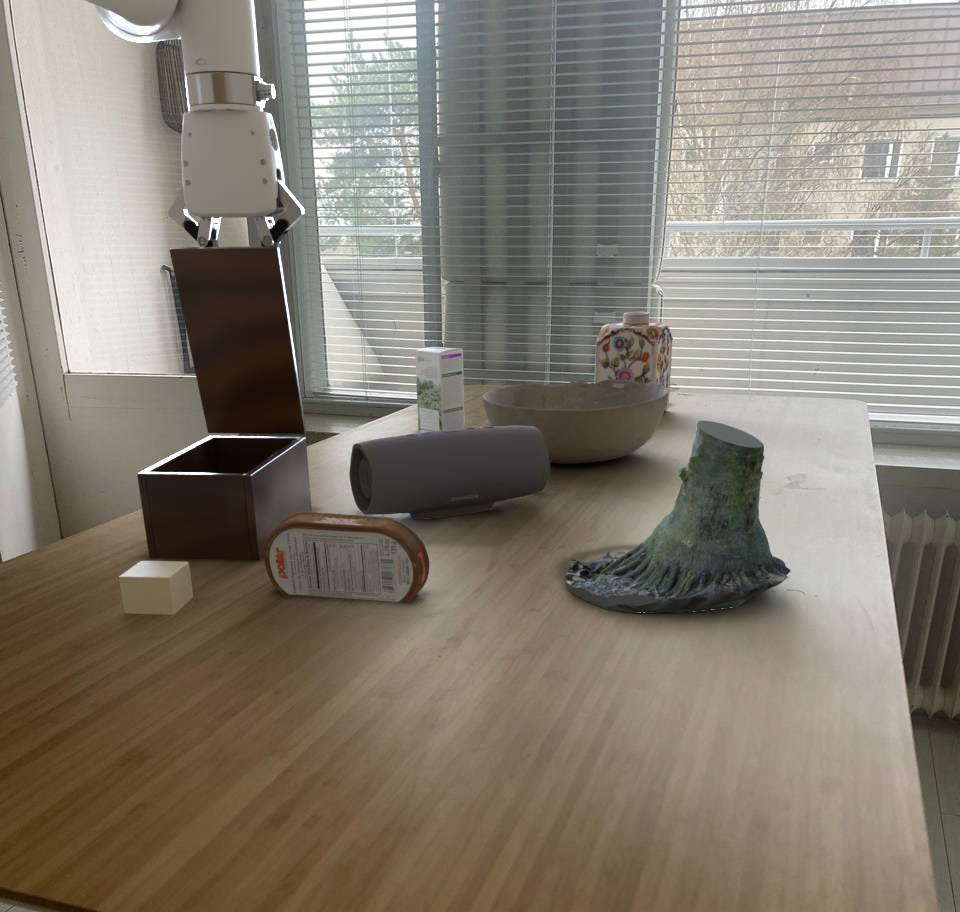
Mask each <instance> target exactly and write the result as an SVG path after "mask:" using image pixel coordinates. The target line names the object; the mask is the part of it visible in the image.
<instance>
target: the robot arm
mask: <svg viewBox="0 0 960 912" xmlns="http://www.w3.org/2000/svg"><path fill="white" fill-rule="evenodd" d="M84 1H85V2H87V3H90V4H92V5H94V6H95V9H96V12H97V14H98V16H99V17H100V19H101V21H102V22H103V23H104V25H105V26H106V27H107V28H108V29H109V30H110V31H111V32H112V33H114V34H115V35H117V36H118V37H120V38H122V39H123V40H126V41H130V42H134V43H153V42H161V41H170V40H180V43H181V53H182V62H183V70H184V71H183V72H184V82H185V88H186V98H187V108H188V111H187V112H183V114H182V125H181V142H180V143H181V144H180V145H181V147H180V148H181V149H180V155H181V157H180V159H181V160H180V161H181V162H180V163H181V179H182V180H181V181H182V186H181V189H180V190H179V192H178V194H177V196H176V197H175V199H174V201H173V202H172V204H171V206H170V208H169V209H168V211H167V212H168V213H167V214H168V216H169V217H170V219H172V220H173V221H174V222H176V223H177V224H178V225H179V226H180V227H182V228H183V229H184V230H185V231H186V232H187V233H188V234H189V235H190V236H191V238H193V239H194V241H196V242H197V245H198V247H219V241H218V240H219V239H218V238H219V233H220V226H221V220H222V219H227V218H228V219H230V218H231V219H232V218H237V219H238V218H244V219H245V218H253V221H254V223H255V226H256V230H257V232H258V234H259V237H260V245H261V246H280V244H281V242H282V240H283V239H284V238H285V236H287V234H288V233H289V231H290V230H291V229H292V227H293V226H295V225H296V224H297V223H298V222H299V221H300V220H301V218H303V216H304V215H305V213H306V211H305V208H304V206H303V205H301V203H300V202H299V201H298V200H297V198H296V197H295V196H294V194H293V193H292V192H291V191H290V189H288V187H287V186H286V179H285V172H284V166H283V160H282V154H281V149H280V144H279V138H278V134H277V129H276V125H275V122H274V118H273V115H272V113H270V112H267V111H264V108H265V107H266V105H265V104H266V101H268V100H274V99H275V98H276V89H275V85H274V84H273V83H266V82H264V81H263V78H261V68H260V59H259V46H258V36H257V24H256V23H257V22H256V12H255V0H84ZM190 214H191V215H193V216H195V217H198V218H200V219H199V221H197V220H195V219H194V218H193V217H192V216H191V215H190ZM281 215H282V216H281ZM278 216H281V217H280V218H279V219H278V220H276V222H275V220H274V217H278Z"/></svg>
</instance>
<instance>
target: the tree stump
mask: <svg viewBox="0 0 960 912" xmlns="http://www.w3.org/2000/svg"><path fill="white" fill-rule="evenodd" d="M696 424H697V425H696V430H695V437H694V440H693V442H692V446H691V453H690V456H689V459H688V462H687V466H685V467H682V468H681V469H679V470H678V473H677V475H678V477H679V478H680V480H681V485H680V487H679V491H678V494H677V496H676V499H675V504H674V507H673V509H672V510H671V511H670V513H668V514H666V515H665V516H664V517H663V518H662V519H661V520H660V522H659V523H658V524H657V526H656V527H655V528H654V530H653V531H652V532H651V535H649V536H648V537H647V538H646V539H644V540H643V541H642V542H641V543H639V544H638V545H636V546H635V547H634V548H632V549H631V550H628V551H627V552H626V551H618V552H614V553H610V552H609V551H607V552H606V553H605V555H601V556H600V557H599V556H598V557H597V558H593V559H589V560H586V561H585V560H583V561H579V560H577V558H573V557H572V558H571V562H570V563H569V566H568V571H566V573H565V585H566V587H567V589H568V591H569V592H570V593H572V594H573V595H575V596H576V597H577V598H579V599H582V600H584V601H586V602H589V603H591V604H593V605H596V606H598V607H600V608H603V609H605V610H610V611H616V610H617V612H623V611H625V612H624V613H630V612H634V613H633V614H636V613H635V612H641V613H640V614H644V613H643V612H693V611H702V610H711V609H721V608H730V607H736V608H737V607H739V606H740V605H742V604H743V603H744V602H746V601H748V600H749V599H750V598H752V597H754V596H757V595H759V594H762V593H763V592H766V591H768V590H770V589H772V588H775V587H777V586H779V585H780V584H781V583H783V582H785V580H786V579H788V578H789V576H788V574H790V573H791V571H792V569H790V568H789V567H787V566H786V563H785V561H783V560H782V559H780V558H779V557H777V556H775V555H774V556H773V554H772V552H771V548H770V547H771V546H770V543H769V539H768V537H767V533H766V531H765V529H764V527H763V525H762V523H761V520H760V509H759V508H760V507H759V505H760V495H761V494H760V493H761V492H760V491H761V480H762V478H763V475H764V472H763V471H762V467H763V463H764V461H765V454H764V452H765V448H764V447H765V444H764V443H763V442H762V441H761V440H760V439H758V438H757V437H755V436H754V435H752V434H750V433H748V432H746V431H744V430H741V429H739V428H736V427H734V426H731V425H728V424H726V423H725V424H724V423H720V422H716V421H710V420H698V421H697V423H696ZM730 609H731V608H730ZM618 610H619V611H618ZM721 610H722V609H721ZM626 611H627V612H626ZM702 612H703V611H702ZM693 613H694V612H693Z"/></svg>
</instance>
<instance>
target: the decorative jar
mask: <svg viewBox="0 0 960 912" xmlns="http://www.w3.org/2000/svg"><path fill="white" fill-rule="evenodd" d="M622 317H623V318H622V321H618V322H610V323H607V324H604V325H602V327H601V329H600V331H599V334H598V335H597V337H596V338H597V339H596V341H595V354H594V355H595V357H594V377H593V378H594V381H593V383H595V384H596V383H598V382H600V381H603V380H606V379H610V380H631V381H634V382H636V383H639V382H640V383H645V384H646V383H650V382H652V383H658V384H662V385H664V386H665V387H666V388H668V390H669V394H668V399H667V404H666V408H665V410H664V412H666V411H668V409H669V405H670V393H671V391H670V390H671V376H672V356H673V355H672V352H673V340H674V338H673V337H672V332H671V330H670V325H668V324H665V323H663V322H653V321H650V312H649V311H628V312H624V313H623V316H622Z"/></svg>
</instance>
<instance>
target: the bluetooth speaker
mask: <svg viewBox="0 0 960 912" xmlns="http://www.w3.org/2000/svg"><path fill="white" fill-rule="evenodd" d="M348 474H349V475H348V476H349V482H350V483H349V484H350V488H351V494H352V497H353V500H354V502H355V505H356V507H357V509H358V510H359V511H360V512H362V514H364V515H366V516H382V515H398V514H409V515H410V517H411V516H412V517H413V518H412V517H411V518H412V519H415V518H416V519H415V520H426V519H425V518H432V519H438V518H437V517H442V518H446V517H445V516H449V517H456V516H462V515H463V516H464V515H471V514H476V512H478V513H483V512H487V511H486V510H488V511H491V510H493V507H494V503H497V502H502V501H503V502H504V501H508V500H512V499H517V498H521V497H522V498H523V497H527V496H530V495H534V494H538V493H540V492H542V491H544V490H545V488H546V487H547V485H548V483H549V480H550V476H551V463H550V461H549V455H548V450H547V446H546V443H545V439H544V436H543V434H542V432H541V431H540V430H539V429H538V428H536V427H534V426H494V427H492V426H491V425H490V426H481V427H480V426H479V427H478V426H477V427H467V428H466V427H465V428H464V429H446V430H440V431H432V432H424V433H419V432H417V433H409V434H404V435H403V434H401V435H394V436H387V437H380V438H379V437H378V438H375V439H369V440H365V441H361V442H356V443H354V444H353V445H352V447H351V454H350V464H349V473H348ZM490 509H491V510H490ZM482 511H483V512H482Z"/></svg>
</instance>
